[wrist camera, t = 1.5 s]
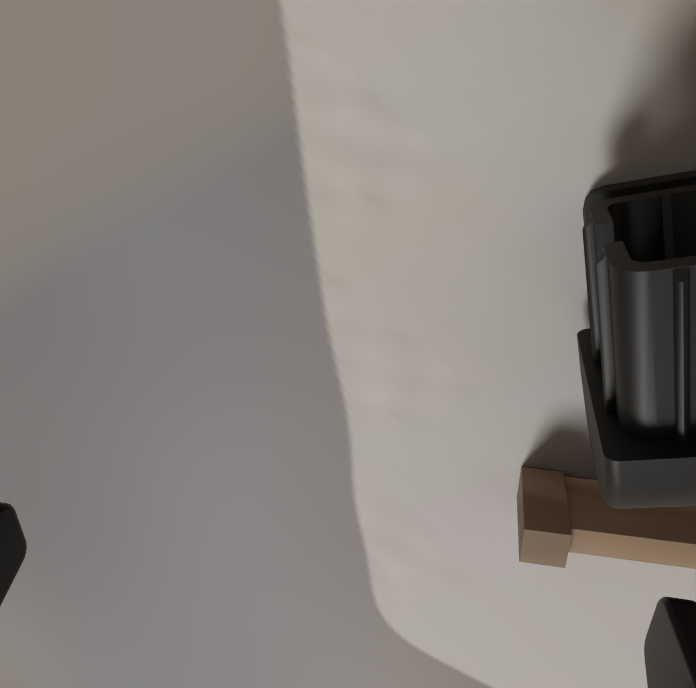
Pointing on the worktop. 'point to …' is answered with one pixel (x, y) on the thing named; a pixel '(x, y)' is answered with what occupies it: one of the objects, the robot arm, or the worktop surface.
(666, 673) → the robot arm
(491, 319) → the worktop surface
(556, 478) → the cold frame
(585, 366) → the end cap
